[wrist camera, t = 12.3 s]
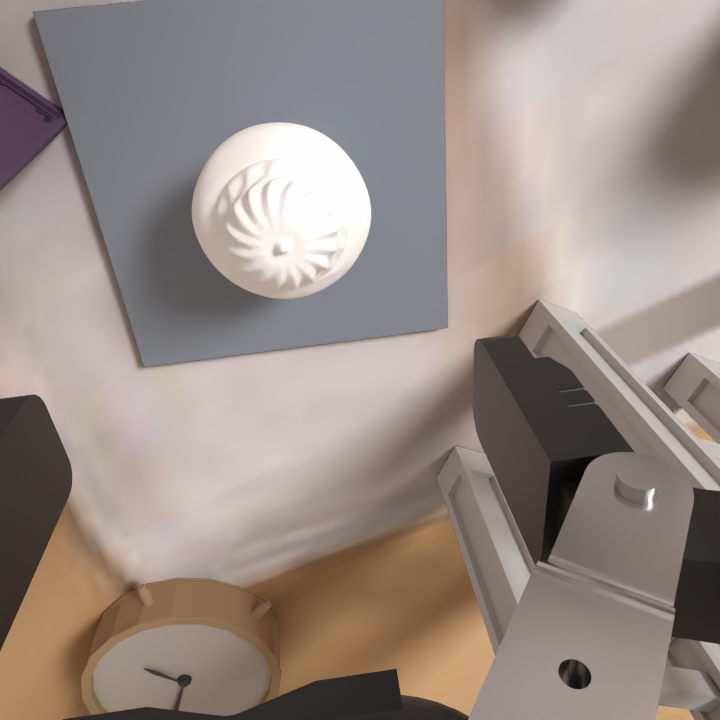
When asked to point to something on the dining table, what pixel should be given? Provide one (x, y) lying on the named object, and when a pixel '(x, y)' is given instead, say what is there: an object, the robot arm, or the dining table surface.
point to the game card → (24, 125)
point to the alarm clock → (184, 650)
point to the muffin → (281, 210)
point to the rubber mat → (237, 112)
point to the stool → (645, 436)
